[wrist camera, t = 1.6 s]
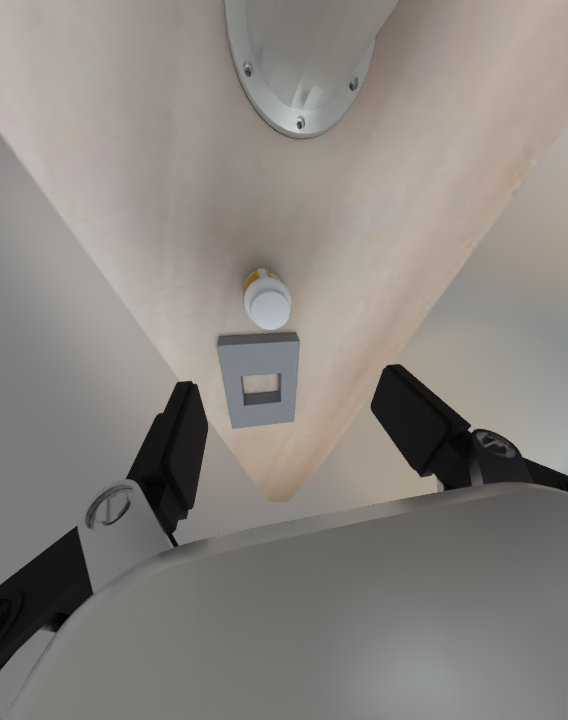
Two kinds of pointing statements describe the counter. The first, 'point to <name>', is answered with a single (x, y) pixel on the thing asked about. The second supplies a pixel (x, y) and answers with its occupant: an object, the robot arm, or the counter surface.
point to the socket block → (258, 359)
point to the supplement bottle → (266, 299)
